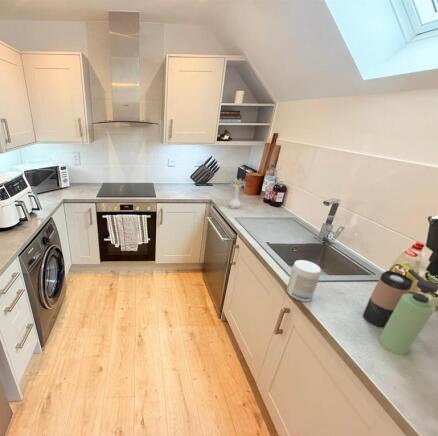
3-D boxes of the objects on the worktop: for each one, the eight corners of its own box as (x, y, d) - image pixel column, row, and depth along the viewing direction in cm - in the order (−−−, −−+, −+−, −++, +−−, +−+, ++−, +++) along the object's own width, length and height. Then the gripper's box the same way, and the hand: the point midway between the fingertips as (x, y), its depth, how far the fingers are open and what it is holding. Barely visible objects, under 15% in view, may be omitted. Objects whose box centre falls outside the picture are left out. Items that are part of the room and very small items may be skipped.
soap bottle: (402, 341, 80) (432, 293, 72) (410, 358, 75) (443, 308, 66) (375, 333, 84) (401, 286, 75) (381, 348, 78) (409, 299, 70)
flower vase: (236, 203, 207) (241, 175, 197) (245, 211, 190) (251, 181, 181) (222, 203, 207) (226, 175, 197) (229, 211, 190) (234, 181, 180)
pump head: (437, 298, 68) (442, 290, 67) (419, 295, 69) (424, 286, 68) (414, 277, 76) (419, 270, 75) (399, 275, 78) (403, 267, 76)
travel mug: (393, 331, 84) (419, 286, 76) (367, 325, 87) (389, 281, 79) (382, 315, 91) (405, 273, 83) (358, 310, 93) (378, 268, 85)
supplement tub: (317, 300, 99) (328, 271, 93) (298, 304, 96) (308, 275, 90) (298, 285, 107) (307, 258, 101) (280, 289, 105) (288, 261, 99)
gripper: (500, 193, 60) (452, 270, 69) (433, 188, 64) (396, 261, 74) (532, 203, 54) (474, 286, 63) (455, 196, 58) (411, 275, 67)
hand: (432, 272), depth 68 cm, fingers closed
